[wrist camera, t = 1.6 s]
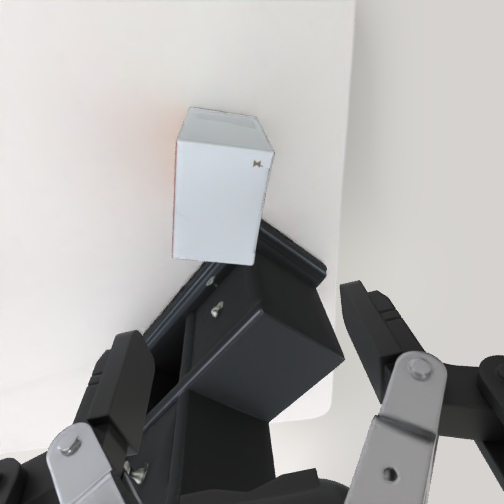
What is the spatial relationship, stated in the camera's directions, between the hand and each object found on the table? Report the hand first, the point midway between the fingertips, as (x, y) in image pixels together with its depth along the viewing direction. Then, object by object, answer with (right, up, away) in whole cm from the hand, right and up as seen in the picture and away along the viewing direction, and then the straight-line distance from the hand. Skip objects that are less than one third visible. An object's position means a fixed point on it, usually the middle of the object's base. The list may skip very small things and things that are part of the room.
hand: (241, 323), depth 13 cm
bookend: (-3, -4, +25) cm, 26 cm away
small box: (-2, +11, +16) cm, 20 cm away
